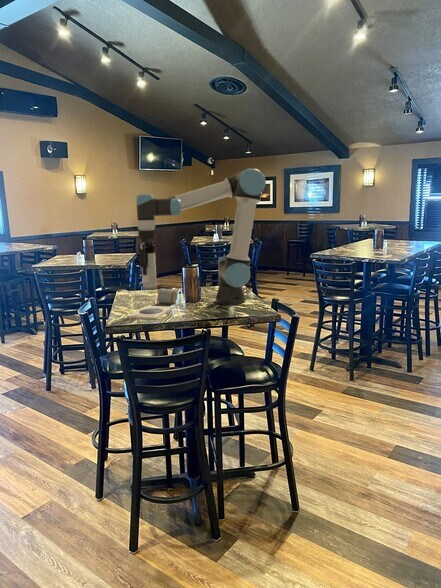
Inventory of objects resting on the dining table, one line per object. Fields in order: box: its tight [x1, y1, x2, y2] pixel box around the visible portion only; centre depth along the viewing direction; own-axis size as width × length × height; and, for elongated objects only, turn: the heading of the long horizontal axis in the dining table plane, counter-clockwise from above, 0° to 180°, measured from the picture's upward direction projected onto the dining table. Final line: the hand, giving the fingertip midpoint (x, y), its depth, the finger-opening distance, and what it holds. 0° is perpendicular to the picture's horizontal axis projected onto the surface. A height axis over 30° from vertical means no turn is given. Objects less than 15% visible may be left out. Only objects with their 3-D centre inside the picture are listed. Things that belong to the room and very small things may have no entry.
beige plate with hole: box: [127, 305, 174, 320], centre depth 203 cm, size 14×20×1 cm
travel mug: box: [141, 246, 158, 291], centre depth 199 cm, size 6×7×20 cm
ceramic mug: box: [157, 287, 178, 305], centre depth 222 cm, size 11×8×8 cm
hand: (149, 280), depth 200 cm, fingers closed on travel mug, 6 cm apart
